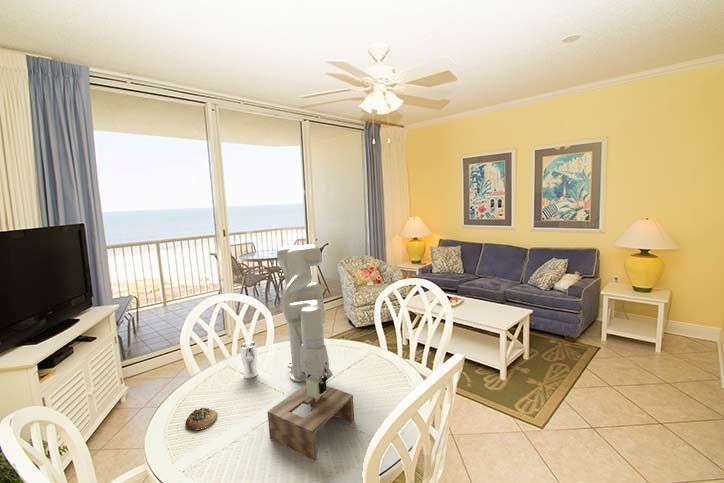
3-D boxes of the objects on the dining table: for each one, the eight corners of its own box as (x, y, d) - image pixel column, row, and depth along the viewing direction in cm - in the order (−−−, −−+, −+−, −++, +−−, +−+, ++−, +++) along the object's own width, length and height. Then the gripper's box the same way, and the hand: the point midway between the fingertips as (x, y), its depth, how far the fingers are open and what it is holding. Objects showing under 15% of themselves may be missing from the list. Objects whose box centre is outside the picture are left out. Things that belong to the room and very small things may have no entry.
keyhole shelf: (269, 438, 117) (267, 411, 116) (312, 404, 135) (311, 380, 134) (314, 460, 106) (311, 431, 105) (354, 420, 124) (352, 394, 123)
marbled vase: (245, 372, 164) (242, 342, 162) (260, 370, 164) (257, 341, 162) (241, 379, 157) (238, 348, 155) (257, 378, 157) (253, 347, 155)
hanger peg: (308, 413, 122) (305, 379, 120) (317, 405, 126) (315, 372, 125) (319, 417, 119) (316, 382, 118) (328, 409, 124) (325, 376, 122)
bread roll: (182, 420, 130) (183, 407, 129) (213, 411, 136) (214, 399, 136) (188, 437, 121) (188, 423, 120) (221, 427, 127) (221, 414, 127)
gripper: (288, 340, 121) (292, 388, 123) (325, 350, 112) (328, 402, 114) (302, 333, 127) (306, 378, 130) (339, 342, 118) (342, 391, 120)
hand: (316, 389), depth 122 cm, fingers closed on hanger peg, 5 cm apart
